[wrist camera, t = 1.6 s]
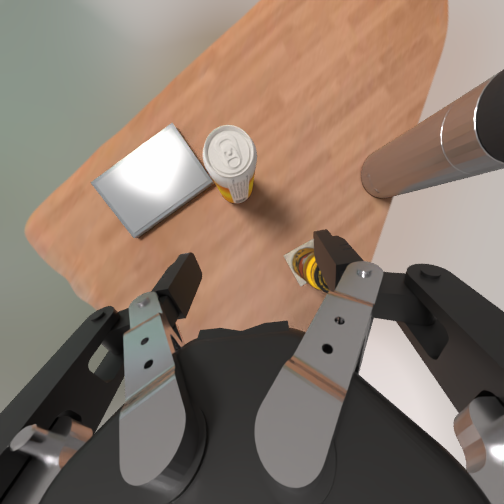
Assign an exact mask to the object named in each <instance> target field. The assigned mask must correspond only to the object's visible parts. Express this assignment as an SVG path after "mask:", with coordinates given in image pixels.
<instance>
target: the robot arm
mask: <svg viewBox="0 0 504 504" xmlns="http://www.w3.org/2000/svg"><path fill="white" fill-rule="evenodd" d="M503 168H504V70H503V71H501V72H499V73H497V74H496V75H494V76H493V77H491V78H490V79H488V80H486V81H485V82H483V83H482V84H480V85H479V86H477V87H475V88H474V89H472V90H471V91H469V92H468V93H466V94H465V95H463V96H462V97H460V98H459V99H457V100H455V101H454V102H452V103H451V104H449V105H447V106H446V107H444V108H443V109H441V110H440V111H438V112H437V113H435V114H433V115H432V116H430V117H429V118H427V119H425V120H424V121H423V122H421V123H419V124H417V125H416V126H414V127H413V128H411V129H410V130H408V131H406V132H405V133H403V134H402V135H400V136H399V137H397V138H395V139H394V140H392V141H391V142H389V143H387V144H386V145H384V146H383V147H381V148H380V149H378V150H376V151H375V152H373V153H372V154H371V155H370V156H369V157H368V158H367V159H366V160H365V162H364V164H363V167H362V171H361V179H362V183H363V186H364V188H365V189H366V190H367V192H368V193H370V194H371V195H373V196H374V197H378V198H388V197H392V196H396V195H400V194H404V193H409V192H412V191H417V190H420V189H424V188H428V187H432V186H436V185H440V184H444V183H448V182H452V181H456V180H460V179H464V178H468V177H472V176H476V175H480V174H483V173H487V172H491V171H495V170H499V169H503ZM313 237H314V256H315V261H316V263H317V265H318V267H319V269H320V271H321V274H322V276H323V278H324V280H325V282H326V284H327V286H328V288H329V290H330V291H329V292H328V294H327V295H326V297H325V299H324V301H323V303H322V304H321V306H320V308H319V310H318V312H317V313H316V315H315V317H314V319H313V321H312V322H311V324H310V326H309V328H308V330H307V331H306V333H305V332H303V331H300V330H297V329H293V328H289V326H288V321H280V322H271V323H264V324H261V325H258V326H255V327H252V328H250V329H247V330H244V331H237V330H231V329H224V328H216V329H207V330H200V332H199V335H198V338H197V339H194V340H192V341H190V342H188V343H187V344H185V342H184V340H183V337H182V335H181V332H180V330H179V327H178V325H177V324H176V321H177V319H183V318H186V316H187V314H188V311H189V309H190V306H191V304H192V301H193V299H194V297H195V294H196V292H197V289H198V287H199V284H200V282H201V279H202V272H201V269H200V267H199V265H198V262H197V260H196V258H195V256H194V254H193V253H185V254H180V255H179V257H178V258H177V260H176V261H175V262H174V263H173V264H172V265H171V266H170V267H168V269H167V270H166V271H165V274H163V276H162V278H160V280H159V281H158V283H157V284H156V285H155V287H154V288H153V290H152V291H151V292H147V293H144V294H142V295H140V296H138V297H137V298H136V299H135V300H133V301H132V303H131V304H130V306H129V308H127V309H125V310H122V311H119V312H117V311H116V310H115V309H114V308H113V307H112V306H107V307H104V308H102V309H99V310H98V311H96V312H94V313H93V314H92V315H90V316H89V317H88V318H87V319H86V320H85V321H84V322H83V323H82V325H81V326H80V327H79V328H78V329H77V330H76V331H75V332H74V333H73V335H71V337H70V338H69V339H68V340H67V341H66V342H65V343H64V344H63V345H62V346H61V348H60V349H59V350H58V351H57V352H56V353H55V354H54V355H53V356H52V357H51V359H50V360H49V361H48V362H47V363H46V364H45V365H44V366H43V367H42V368H41V370H40V371H39V372H38V373H37V374H36V375H35V376H34V377H33V378H32V380H31V381H30V382H29V383H28V384H27V385H26V386H25V387H24V388H23V389H22V390H21V391H20V393H19V394H18V395H17V396H16V397H15V398H14V399H13V400H12V401H11V402H10V404H9V405H8V406H7V407H6V408H5V409H4V410H3V411H2V412H1V413H0V504H504V312H503V311H502V310H500V309H499V308H498V307H496V306H495V305H494V304H492V303H491V302H490V301H488V300H487V299H486V298H484V297H483V296H482V295H480V294H479V293H478V292H476V291H475V290H474V289H472V288H471V287H470V286H468V285H467V284H465V283H464V282H463V281H461V280H460V279H459V278H458V277H456V276H455V275H453V274H452V273H451V272H449V271H448V270H446V269H444V268H441V267H438V266H434V265H429V264H415V265H411V266H410V267H408V269H407V272H406V274H404V273H389V272H383V270H382V269H381V268H380V267H379V266H378V265H376V264H374V263H371V262H365V261H363V260H362V258H361V257H360V256H359V255H358V254H357V253H356V252H355V251H354V249H352V247H351V246H350V245H349V244H348V243H347V241H346V240H345V239H343V238H341V237H339V236H332V235H331V234H330V233H329V231H328V230H327V229H326V230H320V231H314V234H313ZM374 318H380V319H387V320H393V321H396V322H397V323H398V325H399V326H400V328H401V329H402V331H403V332H404V334H405V335H406V337H407V338H408V339H409V341H410V342H411V344H412V345H413V347H414V348H415V350H416V351H417V353H418V354H419V355H420V357H421V358H422V360H423V361H424V363H425V364H426V365H427V367H428V369H429V370H430V372H431V373H432V374H433V376H434V377H435V379H436V380H437V381H438V383H439V385H440V386H441V388H442V389H443V391H444V392H445V393H446V395H447V396H448V398H449V399H450V401H451V402H452V404H453V405H454V407H455V408H456V409H457V411H458V412H459V414H458V415H457V416H456V417H455V419H454V431H455V434H456V437H457V439H458V441H459V443H460V445H461V447H462V449H463V451H464V454H465V458H466V469H465V468H464V467H463V466H462V465H461V464H460V463H459V462H458V461H457V460H456V459H455V458H454V457H453V456H452V455H451V454H450V453H449V452H448V451H447V450H446V449H445V448H444V447H443V446H442V445H440V444H439V443H438V442H437V441H436V440H435V439H433V438H432V437H431V436H430V435H429V434H428V433H426V432H425V431H424V430H423V429H422V428H421V427H419V426H418V425H417V424H416V423H415V422H413V421H412V420H411V419H410V418H409V417H408V416H406V415H405V414H404V413H403V412H402V411H401V410H399V409H398V408H397V407H396V406H395V405H394V404H392V403H391V402H390V401H389V400H388V399H386V398H385V397H384V396H383V395H382V394H381V393H379V392H378V391H377V390H376V389H375V388H374V387H372V386H371V385H370V384H369V383H368V382H366V381H365V380H364V379H363V378H362V377H361V376H360V375H358V374H359V370H360V366H361V363H362V358H363V355H364V351H365V347H366V343H367V340H368V336H369V333H370V329H371V326H372V322H373V319H374ZM100 344H102V345H103V346H104V347H106V348H107V349H108V350H109V352H108V353H107V354H106V356H105V357H104V359H103V360H102V362H101V363H100V365H99V367H98V368H97V370H96V371H95V373H92V372H91V371H90V370H89V368H88V363H89V360H90V358H91V357H92V355H93V354H94V352H95V351H96V350H97V349H98V347H99V346H100ZM124 376H125V403H124V404H123V406H122V407H120V408H119V409H118V410H117V412H115V414H114V415H113V416H112V417H111V418H110V419H109V420H108V421H107V422H106V423H105V424H104V425H103V426H102V427H101V428H100V429H99V430H98V431H97V432H96V433H95V431H96V430H97V428H98V426H99V424H100V422H101V420H102V418H103V416H104V414H105V412H106V410H107V408H108V406H109V405H110V403H111V401H112V399H113V397H114V395H115V393H116V391H117V389H118V388H119V386H120V384H121V382H122V380H123V378H124ZM94 433H95V434H94Z"/></svg>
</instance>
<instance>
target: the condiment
mask: <svg viewBox="0 0 504 504" xmlns="http://www.w3.org/2000/svg"><path fill="white" fill-rule="evenodd" d="M284 257H285V259H286V261H287V263H288V265H289V267H290V269H291V270H292V272H293V274H294V276H295V278H296V279H297V281H298V283H299V285H300V287H301V286H302V285H304V284H306V283H309V284H310V285H311V286H313V287H314V288H316V289H318V290H322V291H324V292H326V293H328V292H329V291H330V290H329V288H328V286H327V284H326V282H325V280H324V278H323V276H322V274H321V271H320V269H319V267H318V265H317V263H316V261H315V256H314V239H312V240H310V241H309V242H307V243H305V244H303V245H301V246H299V247H298V248H296V249H294V250H292V251H291V252H289V253H287V254H285V255H284Z"/></svg>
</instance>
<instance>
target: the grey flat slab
mask: <svg viewBox="0 0 504 504" xmlns="http://www.w3.org/2000/svg"><path fill="white" fill-rule="evenodd" d="M91 184H92V185H93V186H94V188H95V189H96V190H97V192H98V193H99V194H100V195H101V197H102V198H103V199H104V201H105V202H106V203H107V204H108V206H109V207H110V208H111V210H112V211H113V212H114V213H115V215H116V216H117V217H118V219H119V220H120V221H121V222H122V224H123V225H124V226H125V228H126V229H127V230H128V231H129V233H130V234H131V235H132V237H133V238H138V237H140V236H141V235H142V234H144V233H145V232H147V231H148V230H149V229H151V228H152V227H154V226H155V225H156V224H158V223H159V222H161V221H162V220H163V219H165V218H166V217H168V216H169V215H170V214H172V213H173V212H175V211H176V210H177V209H179V208H180V207H182V206H183V205H184V204H186V203H187V202H189V201H190V200H191V199H193V198H194V197H196V196H197V195H198V194H200V193H201V192H203V191H204V190H205V189H207V188H208V187H210V186H211V185H212V184H214V182H213V181H212V179H211V178H210V176H209V175H208V174H207V172H206V171H205V169H204V168H203V166H202V165H201V164H200V162H199V161H198V159H197V158H196V156H195V155H194V153H193V152H192V151H191V149H190V148H189V146H188V145H187V143H186V142H185V140H184V139H183V138H182V136H181V135H180V133H179V132H178V130H177V129H176V127H175V126H174V125H173V123H171V124H170V125H168V126H167V127H166V128H164V129H163V130H162V131H160V132H159V133H158V134H156V135H155V136H153V137H152V138H151V139H149V140H148V141H147V142H145V143H144V144H143V145H141V146H140V147H138V148H137V149H136V150H134V151H133V152H132V153H130V154H129V155H128V156H126V157H125V158H123V159H122V160H121V161H119V162H118V163H117V164H115V165H114V166H113V167H111V168H110V169H108V170H107V171H106V172H104V173H103V174H102V175H100V176H99V177H98V178H96V179H95V180H94V181H92V182H91Z"/></svg>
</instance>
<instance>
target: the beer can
mask: <svg viewBox="0 0 504 504" xmlns="http://www.w3.org/2000/svg"><path fill="white" fill-rule="evenodd" d="M203 161H204V165H205V167H206V169H207V171H208V173H209V174H210V176H211V178H212V179H213V181H214V183H215V184H216V186H217V187H218V189H219V191H220V192H221V194H222V196H223V197H224V198H225V199H226V200H227V201H229V202H232V203H241V202H244V201H245V200H247V199H248V198H249V196H250V195H251V192H252V188H253V181H254V174H255V168H256V161H257V152H256V148H255V145H254V143H253V141H252V139H251V138H250V137H249V136H248V134H247V133H246V132H245V131H243V130H242V129H241V128H239V127H236V126H233V125H224V126H220V127H218V128H216V129H215V130H213V131H212V132H211V133H210V134H209V136H208V137H207V139H206V142H205V145H204V148H203Z"/></svg>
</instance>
